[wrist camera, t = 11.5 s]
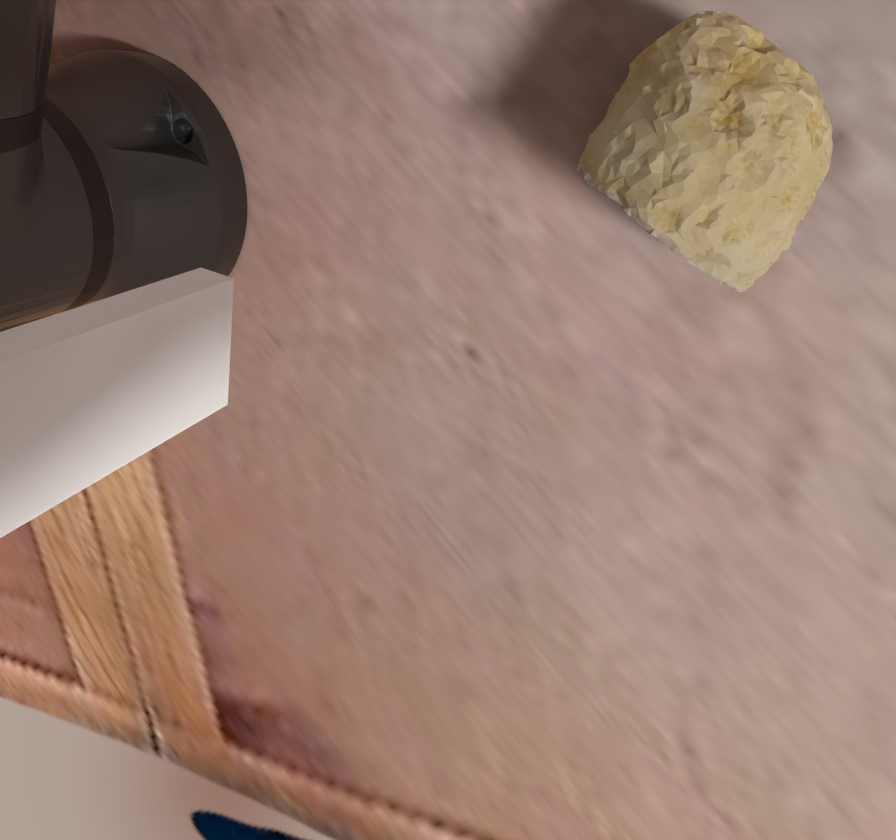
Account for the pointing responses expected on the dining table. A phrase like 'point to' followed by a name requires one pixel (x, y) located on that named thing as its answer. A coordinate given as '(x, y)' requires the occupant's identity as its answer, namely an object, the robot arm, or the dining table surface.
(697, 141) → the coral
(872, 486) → the dining table surface
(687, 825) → the dining table surface
